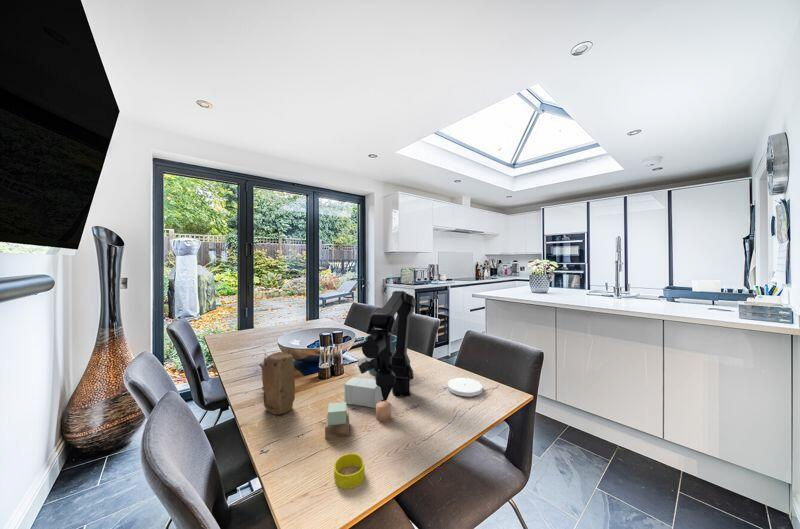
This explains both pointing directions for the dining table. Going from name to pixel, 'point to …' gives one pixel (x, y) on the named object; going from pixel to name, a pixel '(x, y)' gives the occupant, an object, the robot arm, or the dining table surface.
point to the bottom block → (337, 429)
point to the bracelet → (352, 479)
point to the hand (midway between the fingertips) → (383, 394)
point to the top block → (337, 413)
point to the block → (278, 382)
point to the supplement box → (362, 392)
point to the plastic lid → (464, 387)
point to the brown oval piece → (383, 411)
